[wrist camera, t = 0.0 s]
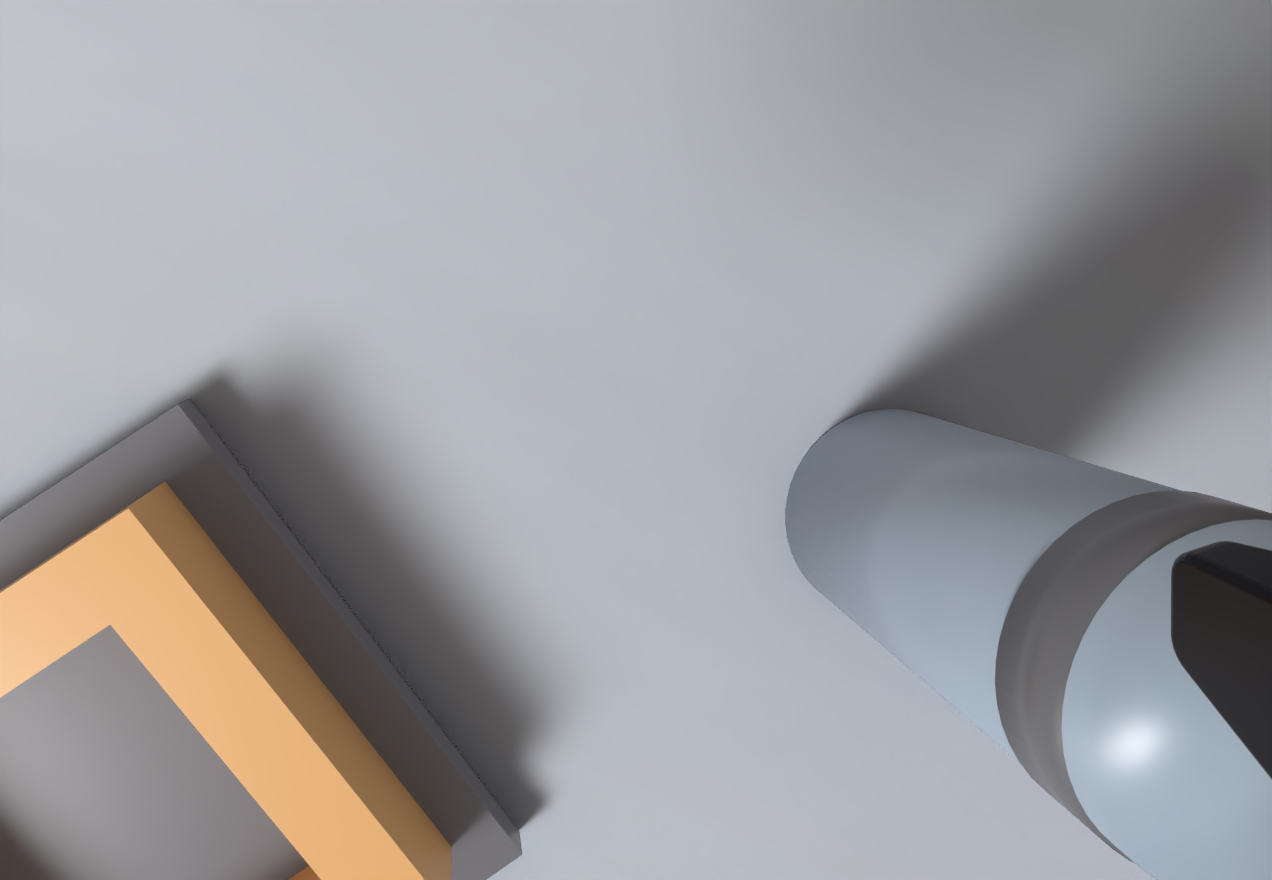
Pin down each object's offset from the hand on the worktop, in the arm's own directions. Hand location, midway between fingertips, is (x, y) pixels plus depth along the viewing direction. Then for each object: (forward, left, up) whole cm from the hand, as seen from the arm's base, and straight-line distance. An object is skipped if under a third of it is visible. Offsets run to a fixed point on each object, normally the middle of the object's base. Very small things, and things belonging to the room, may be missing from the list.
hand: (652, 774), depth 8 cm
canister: (+2, -8, -15) cm, 18 cm away
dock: (-10, +5, -15) cm, 19 cm away
